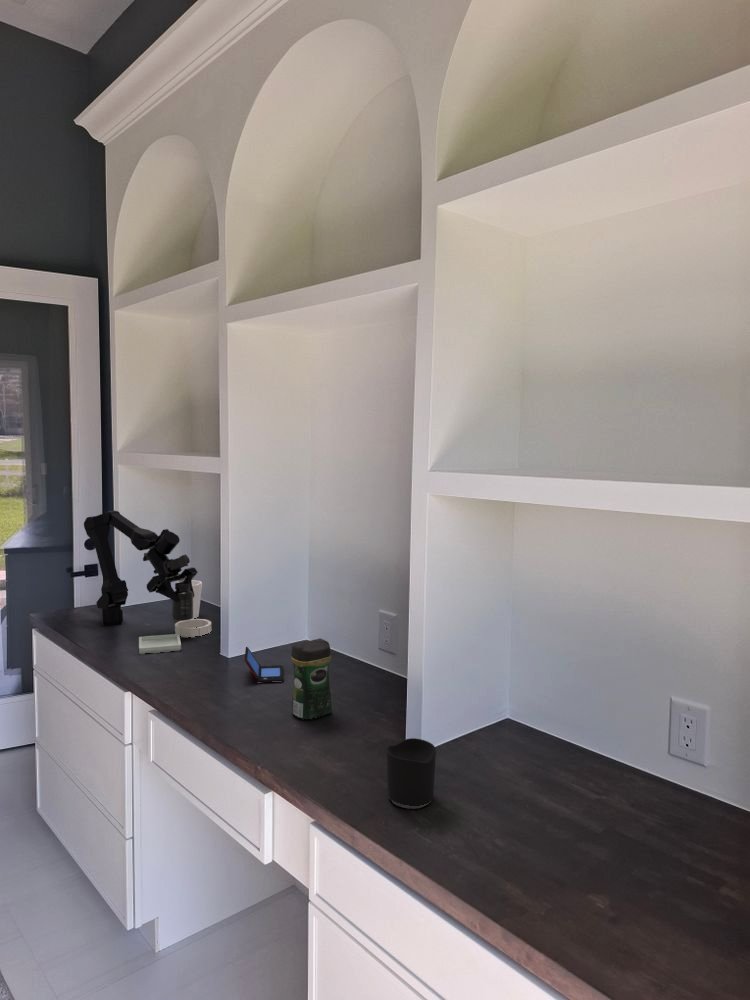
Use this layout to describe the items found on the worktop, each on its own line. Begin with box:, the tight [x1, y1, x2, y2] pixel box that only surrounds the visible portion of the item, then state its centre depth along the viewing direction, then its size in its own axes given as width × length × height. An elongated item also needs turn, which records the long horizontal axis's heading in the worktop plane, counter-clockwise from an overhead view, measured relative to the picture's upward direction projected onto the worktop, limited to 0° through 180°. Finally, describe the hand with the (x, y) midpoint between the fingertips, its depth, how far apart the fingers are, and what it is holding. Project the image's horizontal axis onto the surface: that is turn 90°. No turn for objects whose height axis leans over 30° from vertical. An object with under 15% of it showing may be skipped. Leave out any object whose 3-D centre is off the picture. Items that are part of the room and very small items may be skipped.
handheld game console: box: [243, 646, 285, 682], centre depth 202 cm, size 12×11×7 cm
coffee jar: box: [290, 637, 333, 720], centre depth 175 cm, size 10×8×19 cm
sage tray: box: [138, 633, 182, 655], centre depth 228 cm, size 13×13×2 cm
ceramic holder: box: [174, 618, 212, 638], centre depth 244 cm, size 12×12×3 cm
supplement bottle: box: [171, 581, 193, 622], centre depth 236 cm, size 7×7×12 cm
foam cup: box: [176, 579, 203, 619], centre depth 262 cm, size 10×9×13 cm
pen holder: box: [386, 737, 437, 806], centre depth 135 cm, size 9×9×10 cm
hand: (185, 599), depth 235 cm, fingers closed on supplement bottle, 7 cm apart
